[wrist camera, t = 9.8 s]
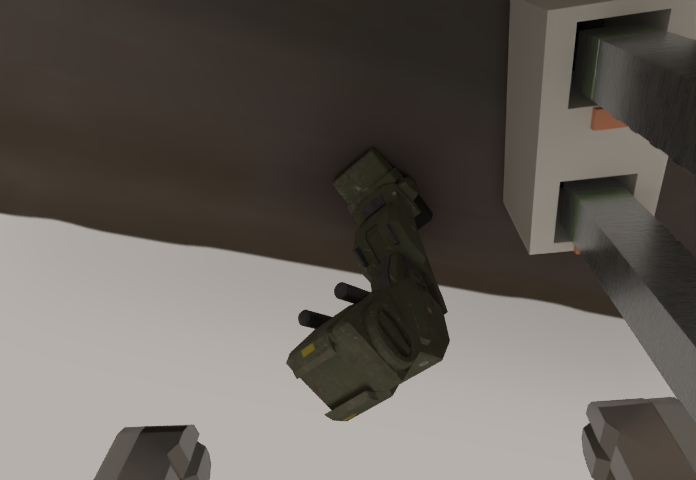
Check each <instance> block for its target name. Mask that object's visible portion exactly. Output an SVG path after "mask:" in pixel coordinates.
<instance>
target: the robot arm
mask: <svg viewBox="0 0 696 480" xmlns="http://www.w3.org/2000/svg"><path fill="white" fill-rule="evenodd" d="M586 414H587V417H588V419H589V421H590V423H589V424H588V425H587V426H585V427H584V428H583V434H582V446H583V453H584V456H585V460H586V464H587V467H588V469H589V472H590V474H591V477H592V478H593V479H594V480H696V423H695V422H694V420H693V419H692V417H691V416H690V414H689V413H688V411H687V410H686V409H685V407H684V406H683V404H682V403H681V402H680V401H679V400H678V399H676V398H674V397H668V398H667V397H666V398H653V399H643V398H640V399H625V400H612V401H597V402H591V403H590V404H589V405H588V408H587V412H586ZM198 437H199V433H198V431H197V429H196V428H195V426H194V425H175V426H144V427H126V428H124V429H123V430H122V431H120V432H119V433H118V435H117V436H116V438H115V440H114V442H113V444H112V446H111V448H110V449H109V452H108V454H107V455H106V457H105V459H104V461H103V463H102V465H101V467H100V469H99V471H98V473H97V475H96V477H95V478H94V480H209V479H210V469H211V461H210V456H209V452H208V450H207V448H206V447H205V446H204V445H202V444H200V443H199V442H197V439H198Z"/></svg>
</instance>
